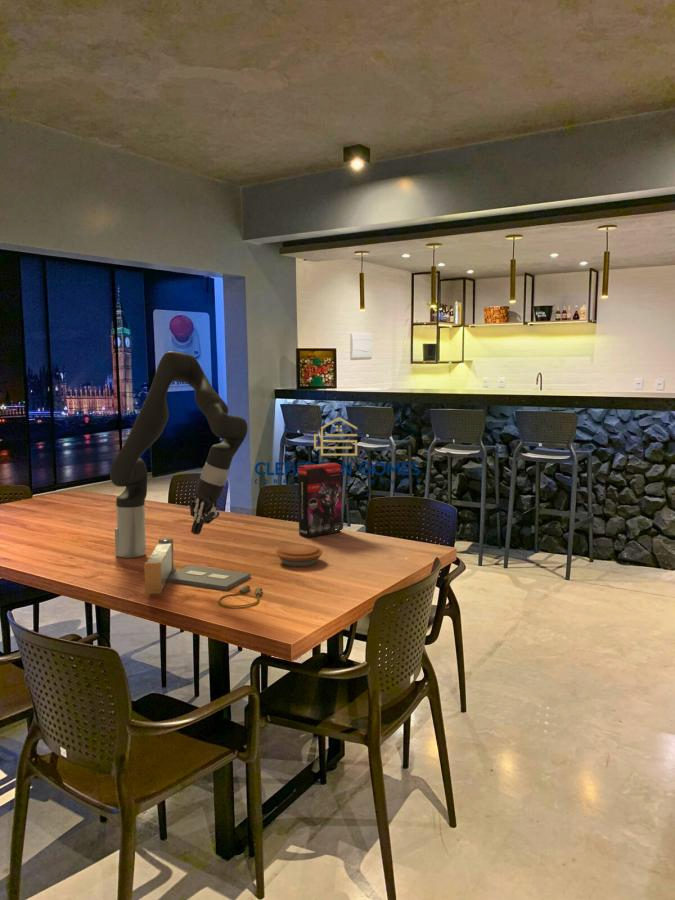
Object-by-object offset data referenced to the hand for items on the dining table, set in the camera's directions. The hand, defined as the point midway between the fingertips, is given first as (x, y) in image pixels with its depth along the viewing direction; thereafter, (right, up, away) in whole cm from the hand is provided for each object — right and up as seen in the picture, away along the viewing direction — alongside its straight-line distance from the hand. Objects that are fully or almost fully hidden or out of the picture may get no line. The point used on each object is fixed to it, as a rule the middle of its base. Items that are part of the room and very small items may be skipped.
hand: (195, 533), depth 203 cm
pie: (+30, -13, +24) cm, 40 cm away
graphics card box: (+36, -8, +63) cm, 73 cm away
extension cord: (+16, -17, -14) cm, 27 cm away
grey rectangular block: (-10, -13, -2) cm, 17 cm away
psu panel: (0, -14, +5) cm, 15 cm away
